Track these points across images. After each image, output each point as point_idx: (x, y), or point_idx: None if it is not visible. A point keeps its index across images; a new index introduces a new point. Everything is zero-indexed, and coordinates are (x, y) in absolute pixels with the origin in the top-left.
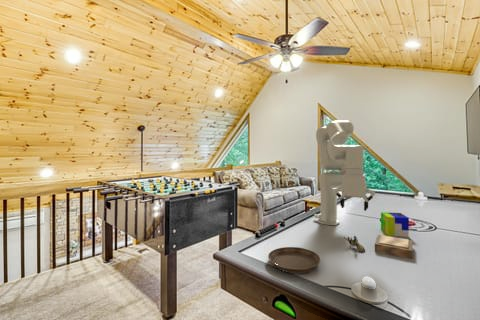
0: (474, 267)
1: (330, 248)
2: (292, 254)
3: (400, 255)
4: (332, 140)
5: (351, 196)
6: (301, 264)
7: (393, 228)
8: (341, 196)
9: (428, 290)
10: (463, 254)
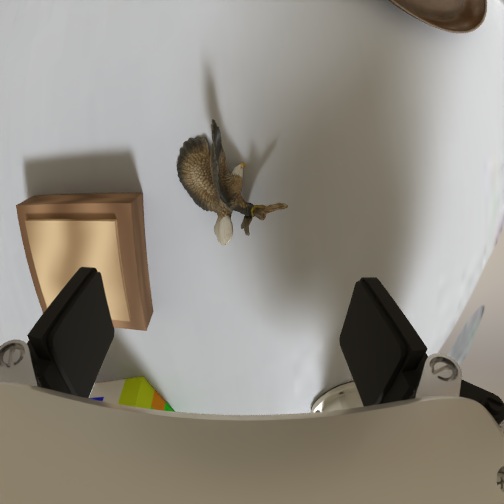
0: None
1: (332, 128)
2: (440, 18)
3: (59, 195)
4: None
5: (267, 418)
6: None
7: (122, 398)
8: (450, 394)
9: (22, 5)
10: None
